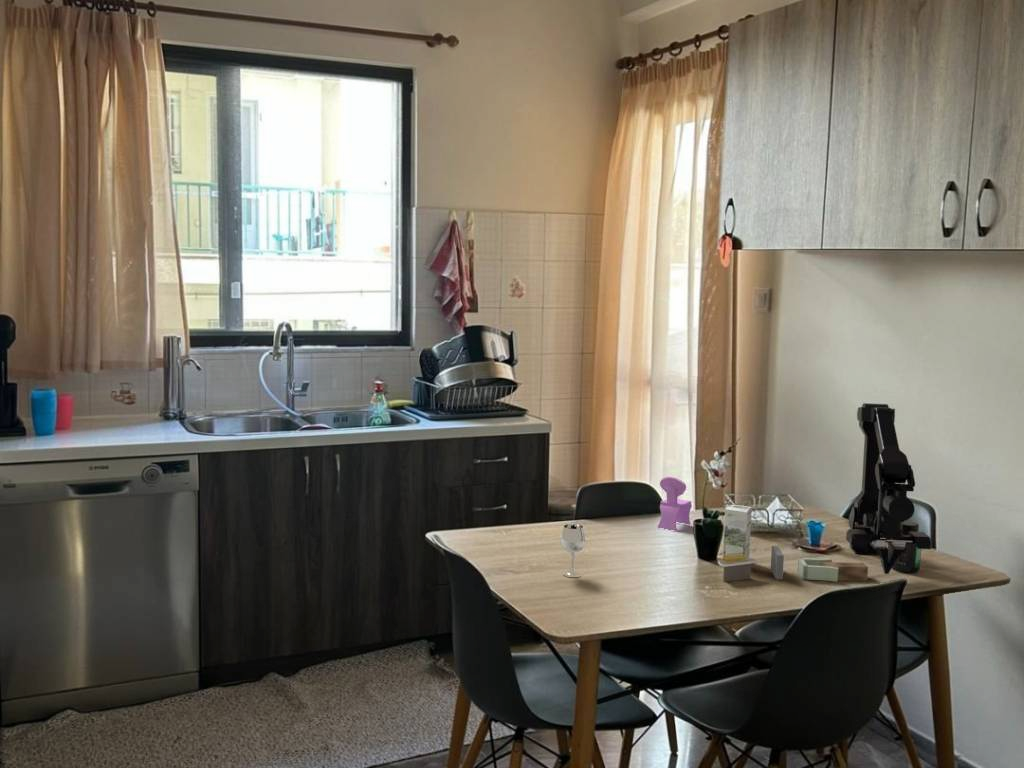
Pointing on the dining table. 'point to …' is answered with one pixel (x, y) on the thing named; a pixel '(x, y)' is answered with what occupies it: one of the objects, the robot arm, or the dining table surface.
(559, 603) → the dining table surface
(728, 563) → the platform
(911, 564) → the supplement bottle
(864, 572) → the brown rectangular block
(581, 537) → the wineglass
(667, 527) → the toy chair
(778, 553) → the wall
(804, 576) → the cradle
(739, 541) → the syrup box
